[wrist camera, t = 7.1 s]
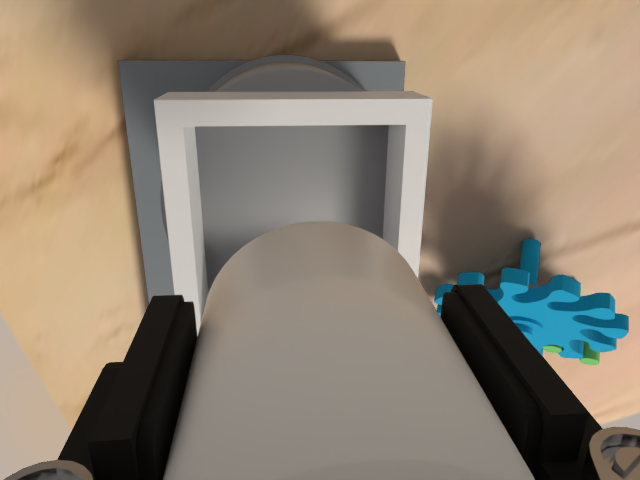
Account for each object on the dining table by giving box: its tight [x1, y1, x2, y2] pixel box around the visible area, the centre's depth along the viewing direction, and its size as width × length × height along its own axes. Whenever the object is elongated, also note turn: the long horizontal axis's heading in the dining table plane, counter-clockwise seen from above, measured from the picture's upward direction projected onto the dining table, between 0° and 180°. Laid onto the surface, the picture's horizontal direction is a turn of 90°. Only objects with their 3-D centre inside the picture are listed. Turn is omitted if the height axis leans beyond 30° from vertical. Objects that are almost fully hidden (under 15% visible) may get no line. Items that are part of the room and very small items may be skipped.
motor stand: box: [118, 55, 433, 337], centre depth 25 cm, size 24×14×12 cm, turn 0°
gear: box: [434, 239, 629, 365], centre depth 30 cm, size 11×6×10 cm
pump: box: [163, 221, 535, 480], centre depth 9 cm, size 7×5×6 cm
